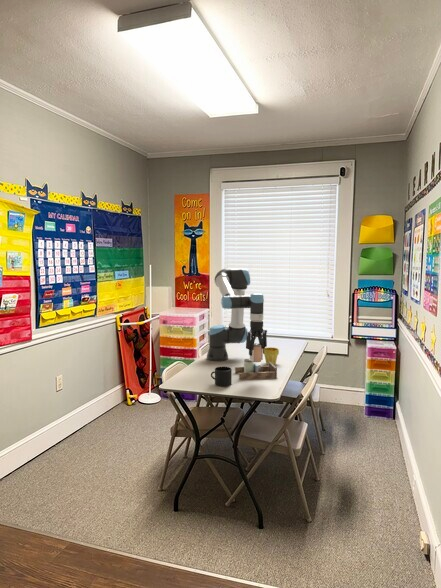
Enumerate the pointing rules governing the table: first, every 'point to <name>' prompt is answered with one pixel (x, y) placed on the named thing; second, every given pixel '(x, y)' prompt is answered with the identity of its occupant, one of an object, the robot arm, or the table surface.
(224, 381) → the mug
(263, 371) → the lane
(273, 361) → the plant pot
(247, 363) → the sage jar
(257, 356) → the clay jar
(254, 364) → the pusher
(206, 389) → the table surface
